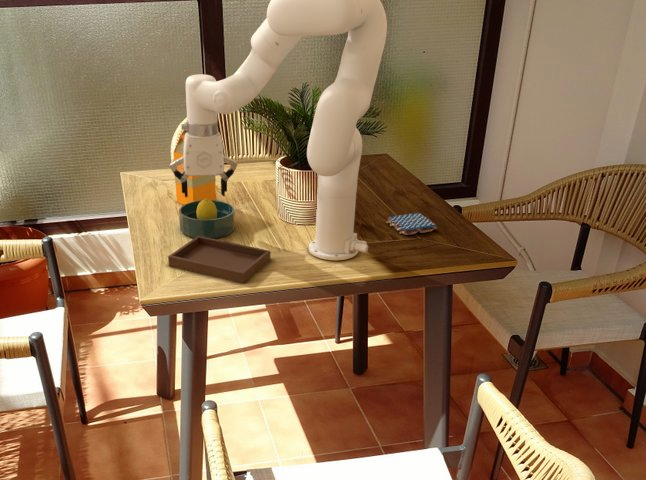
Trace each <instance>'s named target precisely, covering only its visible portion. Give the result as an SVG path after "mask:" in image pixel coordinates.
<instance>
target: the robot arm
mask: <svg viewBox="0 0 646 480" xmlns="http://www.w3.org/2000/svg"><path fill="white" fill-rule="evenodd" d="M345 33H347V39H346V41H345V45H344V47H343V50H342V53H341V58H340V62H339V67H338V70H337V75H336V76H335V80H334V82H333V83H332V84H330V85H329V86H328V87H326V88H325V89H324V91H322V93H321V94H320V96H319V99H318V101H317V103H316V107H315V111H314V117H313V120H312V125H311V129H310V134H309V139H308V142H307V148H306V158H307V162H308V165H309V167H310V168H311V170H312V171H313V172H314V173H316V174H317V176H318V187H317V209H316V216H315V235H314V240H312V241H310V242H309V245H308V252H309V253H310V254H311V256H314V257H316V258H318V259H321V260H325V261H345V260H349V259H353V258H354V257H356V256H357V255H358V254H359V252H361V253H365V254H366V253H368V251H369V245H368V242H367V241H366V240H359V239H358V233H356V232H354V230H355V217H356V203H357V192H358V179H359V171H360V165H361V160H362V154H363V153H362V152H363V138H362V134H361V133H360V130H359V129H358V128H357V124H358V121H359V120H360V119H362V117H364V116H365V114H367V112H368V110H369V109H370V106H371V102H372V97H373V94H374V89H375V86H376V80H377V78H378V75H379V74H378V73H379V68H380V64H381V61H382V57H383V53H384V49H385V45H386V40H387V34H388V21H387V13H386V11H385V7H384V5H383V3H382V1H381V0H270V1H269V3H268V6H267V9H266V18H265V19H264V20H263V22H261V24H260V26H258V28H257V29H256V30H255V32H254V33H253V34H252V36H251V37H250V46H251V49H250V52H249V54H248V55H247V57H246V59H244V61H243V63H241V65H240V66H239V67H238V69H236V71H235V73H233V74H232V75H230V76H228V77H225V78H223V79H221V80H216V78H215V77H214V76H212V75H210V74H202V73H201V74H200V73H199V74H198V73H197V74H192V75H189V76H187V78H186V79H185V105H186V106H185V107H186V122H185V123H181V124H180V125H181V130H183V131H185V133H184V134H185V138H184V151H183V157H181V158H179V159H177V160H175V161H174V160H173V161H171V162H170V163H169V168H170V171H171V172H172V173H173V175H174V177H175V176H176V177H177V178H178V179H179V180H180V181H181V184H182V193H185V197H188V188H187V178H188V177H189V176H215V177H216V176H217V177H218V176H220V193H221V196H222V197H226V193H227V192H228V181H229V179H230V178H231V177H232V176H233V175H234V173H235V171H236V169H237V167H238V162H237V161H236V160H234V159H232V158H230V157H228V156H226V155H224V144H223V138H222V135H221V132H219V128H218V125H219V124H218V123H219V121H218V114H220V115H231V114H233V113H235V112H236V111H238V110H240V109H241V108H244V107H245V106H247V105H249V104H251V102H253V100H255V98H256V97H257V96H258V95H259V94H260V93H261V91H262V90H263V89H264V88H265V87H266V85H267V84H268V83H269V81H270V80H271V79H272V77H273V76H274V74H275V73H276V71H277V70H278V69H279V67H280V65H281V63H282V62H283V61H284V59H286V57H287V56H288V55H289V54H290V52H291V51H292V50H293V49H294V47H295V46H296V45H297V44H298V43H299V41H301V39H302V38H303V37H320V36H336V35H342V34H345ZM183 163H184V171H183V173H180V172H179V171H178V170H177V168H176V167H177V166H179V165H181V164H183ZM225 164H227V165H229V166H230V167H229V168H228V169H227V171H225Z"/></svg>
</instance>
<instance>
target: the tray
mask: <svg viewBox="0 0 646 480" xmlns="http://www.w3.org/2000/svg"><path fill="white" fill-rule="evenodd" d="M167 259H168V260H167V261H168V267H172V268H175V269H180V270H184V271H189V272H194V273H197V274H202V275H205V276H210V277H215V278H219V279H223V280H227V281H232V282H236V283H240V284H245V283H246V282H247V281H249V279H251V278H252V277H254V275H255V274H257V273H258V272H259V271H260V270H261V269H262V268H264V267H265V266H266V265H267V264H268V263H269V262H270V261H271V250H268V249H265V248H264V249H263V248H260V247H256V246H255V247H254V246H249V245H245V244H240V243H235V242H231V241H226V240H221V239H218V238H215V239H212V238H207V237H202V236H197V237H196V238H193V239H191V240H189V241H188V242H187V243H185V244H184V245H182V246H181V247H179V248H178V249H177V250H175V251H174V252H172V253H170V254H169V255H167Z"/></svg>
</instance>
